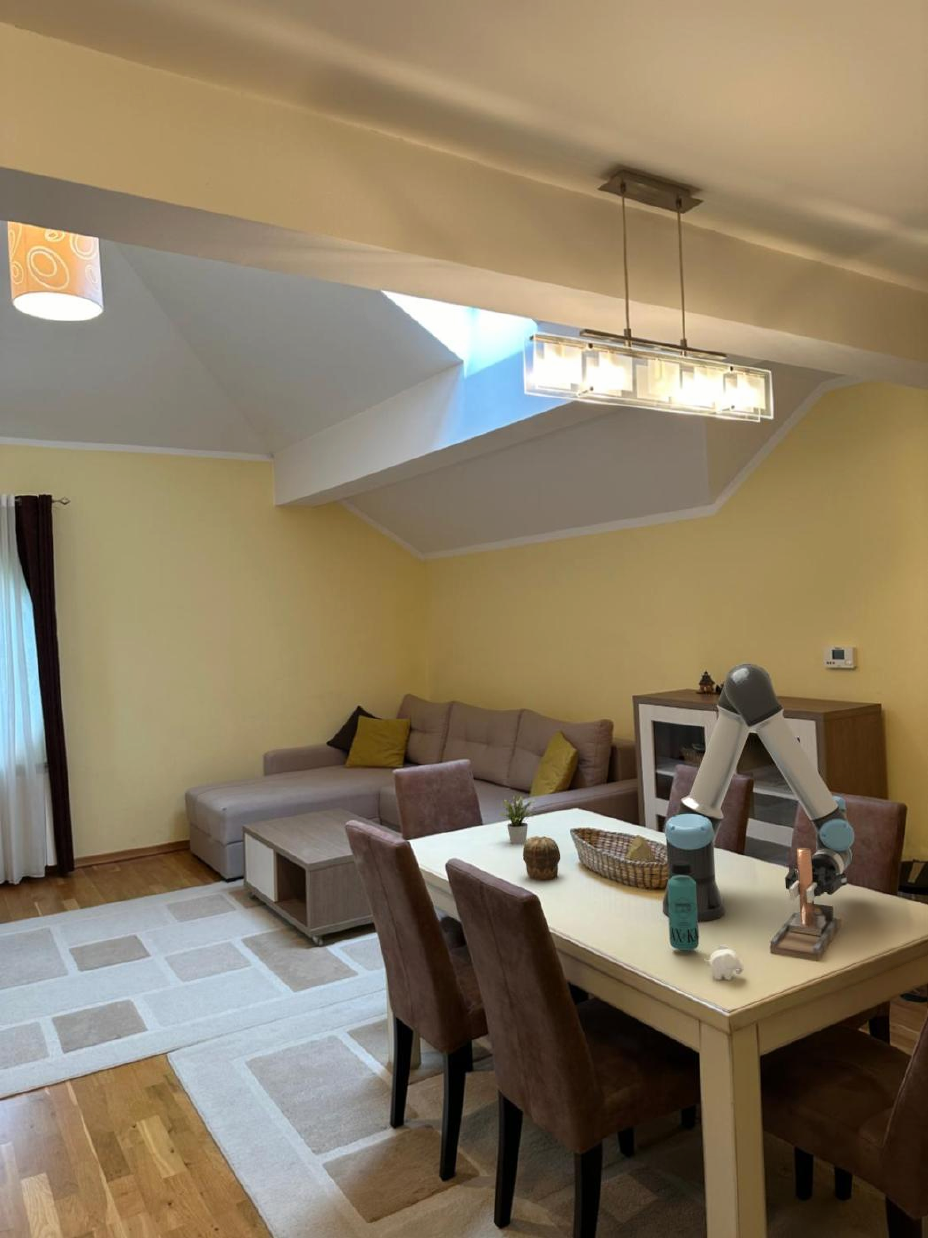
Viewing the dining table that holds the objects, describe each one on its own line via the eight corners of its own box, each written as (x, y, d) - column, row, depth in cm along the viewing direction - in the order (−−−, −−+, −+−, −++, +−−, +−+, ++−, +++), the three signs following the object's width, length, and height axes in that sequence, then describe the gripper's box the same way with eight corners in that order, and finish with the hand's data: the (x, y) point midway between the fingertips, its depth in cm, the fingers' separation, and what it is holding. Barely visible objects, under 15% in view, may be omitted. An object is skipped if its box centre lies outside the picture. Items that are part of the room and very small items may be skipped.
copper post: (821, 936, 192) (816, 854, 192) (789, 931, 196) (784, 851, 196) (827, 927, 197) (822, 848, 197) (795, 922, 201) (791, 845, 201)
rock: (667, 865, 251) (655, 852, 261) (650, 845, 249) (639, 832, 259) (639, 889, 250) (628, 875, 260) (622, 869, 249) (611, 855, 259)
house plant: (542, 848, 286) (539, 799, 286) (500, 850, 287) (498, 801, 287) (538, 837, 301) (536, 791, 301) (499, 839, 301) (497, 793, 301)
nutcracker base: (818, 961, 183) (817, 937, 183) (770, 953, 188) (769, 929, 189) (841, 925, 203) (840, 904, 203) (797, 919, 208) (796, 898, 208)
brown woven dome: (519, 881, 250) (517, 840, 250) (530, 871, 260) (528, 831, 261) (555, 884, 246) (553, 842, 246) (565, 873, 256) (563, 833, 256)
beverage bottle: (666, 947, 195) (661, 859, 195) (694, 945, 195) (689, 857, 195) (675, 958, 188) (670, 867, 188) (704, 956, 189) (699, 865, 189)
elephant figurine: (747, 985, 173) (746, 955, 173) (706, 984, 174) (705, 955, 174) (742, 971, 180) (741, 943, 180) (703, 970, 181) (701, 942, 181)
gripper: (860, 887, 207) (839, 917, 188) (791, 879, 216) (764, 907, 197) (858, 856, 207) (837, 883, 188) (789, 849, 216) (762, 874, 197)
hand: (800, 895), depth 192 cm, fingers closed on copper post, 3 cm apart
